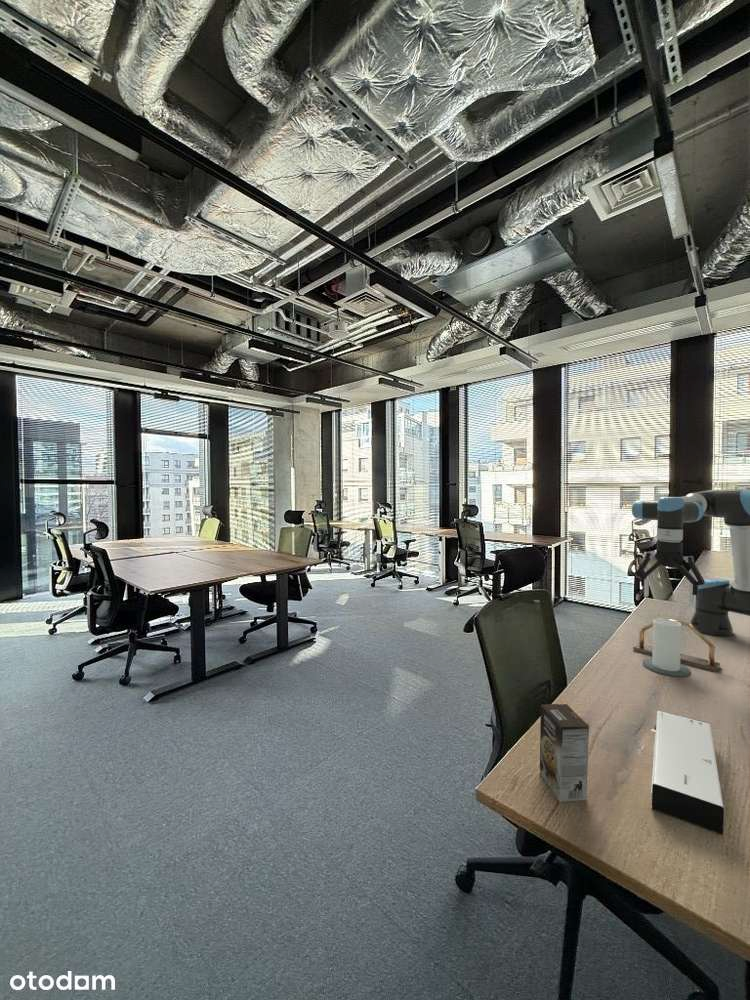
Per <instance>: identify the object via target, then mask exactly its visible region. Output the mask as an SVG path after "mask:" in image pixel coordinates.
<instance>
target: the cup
mask: <svg viewBox="0 0 750 1000" xmlns="http://www.w3.org/2000/svg"><path fill="white" fill-rule="evenodd" d="M669 619H670V618H666V619H661V618H654V619H653V621H652V623H653V627H652V630H653V631H652V647H653V654H652V655H651V656H652V657H651V658H652V664H653V665H654V666H655V667H657V668H660V669H663V670H667V671H679V670H680V664H681V663H680V653H681V654H682V652H681V647H682V625H681V623H679V622H677V621H678V620H677V621H674V620H675V619H672V620H669Z"/></svg>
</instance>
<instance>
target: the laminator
mask: <svg viewBox="0 0 750 1000" xmlns="http://www.w3.org/2000/svg"><path fill="white" fill-rule="evenodd" d="M655 723H656V724H655V725H654V728H651V729H650V732H651V733H655V734H654V746H653V763H652V773H651V774H652V776H651V778H652V779H651V789H650V790H651V792H650V793H651V811H656V812H658V813H661V814H665V815H668V816H670V817H672V818H675V819H678V820H680V821H683V822H686V823H688V824H690V825H694V826H697V827H699V828H702V829H706V830H708V831H710V832H713V833H715V832H716V834H719V835H720V834H721V836H722V835H723V836H724V818H725V817H724V816H725V808H724V801H723V796H722V795H723V794H722V789H721V784H720V777H719V771H718V770H719V769H718V766H717V758H716V752H715V746H714V745H715V743H714V740H713V739H714V738H713V733H712V726H711V723H710V722H705V721H701V720H699V719H698V720H697V719H694V718H690V717H687V716H681V715H678V714H675V713H671V712H666V711H662V710H660V709H659V710H657V711H656V722H655Z"/></svg>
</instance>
